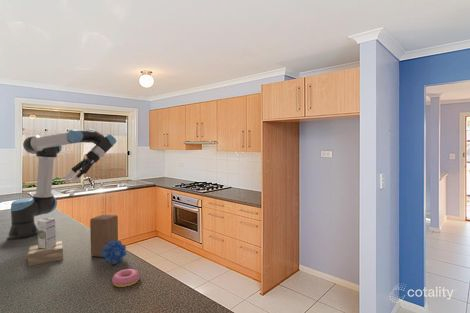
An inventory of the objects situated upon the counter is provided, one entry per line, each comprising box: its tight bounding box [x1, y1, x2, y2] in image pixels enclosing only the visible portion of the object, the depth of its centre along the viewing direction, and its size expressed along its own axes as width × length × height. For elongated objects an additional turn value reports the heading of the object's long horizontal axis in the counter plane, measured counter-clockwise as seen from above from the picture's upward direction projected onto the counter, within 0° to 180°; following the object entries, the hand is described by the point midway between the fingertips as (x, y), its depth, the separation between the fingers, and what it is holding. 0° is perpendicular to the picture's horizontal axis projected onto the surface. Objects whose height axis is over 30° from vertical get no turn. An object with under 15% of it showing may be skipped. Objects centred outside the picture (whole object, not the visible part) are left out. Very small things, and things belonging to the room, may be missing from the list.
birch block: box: [27, 240, 64, 267], centre depth 138 cm, size 14×14×6 cm
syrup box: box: [36, 217, 57, 249], centre depth 138 cm, size 6×6×14 cm
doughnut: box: [111, 268, 141, 288], centre depth 113 cm, size 11×11×4 cm
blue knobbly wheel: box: [102, 240, 127, 265], centre depth 130 cm, size 12×7×12 cm, turn 135°
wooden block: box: [89, 214, 119, 258], centre depth 143 cm, size 10×10×20 cm
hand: (68, 180), depth 157 cm, fingers open, 13 cm apart
